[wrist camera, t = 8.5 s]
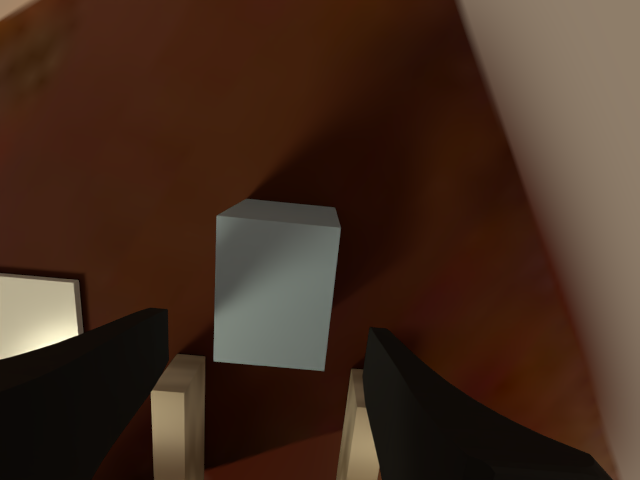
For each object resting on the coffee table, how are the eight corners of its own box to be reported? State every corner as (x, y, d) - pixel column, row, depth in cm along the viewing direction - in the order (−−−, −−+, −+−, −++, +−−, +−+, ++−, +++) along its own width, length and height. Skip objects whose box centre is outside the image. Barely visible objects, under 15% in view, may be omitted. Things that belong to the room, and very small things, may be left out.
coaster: (90, 405, 20) (85, 410, 19) (-47, 394, 19) (-55, 399, 19) (78, 280, 18) (73, 282, 17) (-74, 266, 17) (-84, 268, 17)
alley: (355, 515, 22) (361, 570, 19) (179, 502, 21) (156, 557, 18) (378, 370, 19) (389, 409, 16) (177, 353, 19) (150, 390, 16)
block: (323, 313, 18) (323, 371, 13) (242, 306, 18) (213, 361, 13) (335, 207, 17) (340, 227, 12) (246, 198, 17) (216, 215, 12)
